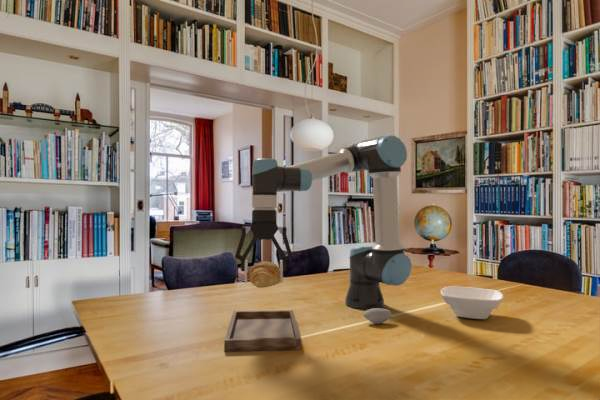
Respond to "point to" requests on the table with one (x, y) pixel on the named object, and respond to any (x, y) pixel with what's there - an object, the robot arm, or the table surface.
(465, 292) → the bowl
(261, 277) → the croissant
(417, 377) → the table surface
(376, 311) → the stone
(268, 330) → the tray
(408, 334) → the table surface
